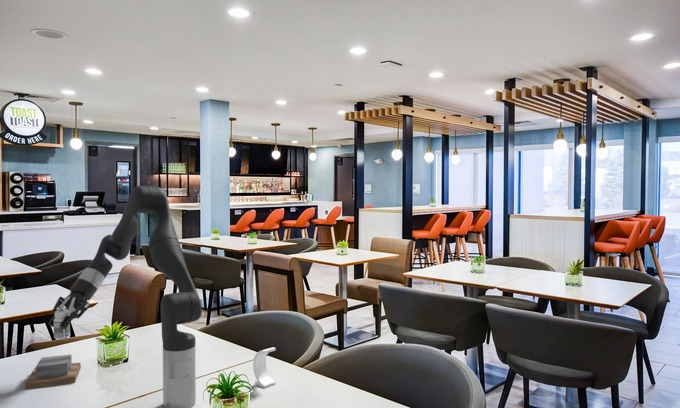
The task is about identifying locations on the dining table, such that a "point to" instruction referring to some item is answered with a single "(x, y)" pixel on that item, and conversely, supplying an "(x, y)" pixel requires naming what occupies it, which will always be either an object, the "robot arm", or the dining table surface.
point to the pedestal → (53, 372)
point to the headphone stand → (262, 369)
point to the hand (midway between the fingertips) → (56, 326)
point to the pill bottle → (58, 331)
